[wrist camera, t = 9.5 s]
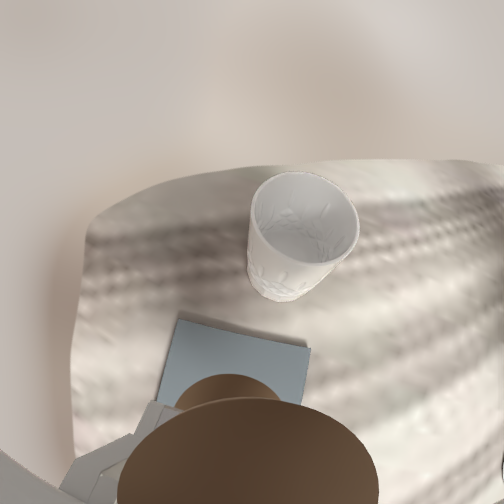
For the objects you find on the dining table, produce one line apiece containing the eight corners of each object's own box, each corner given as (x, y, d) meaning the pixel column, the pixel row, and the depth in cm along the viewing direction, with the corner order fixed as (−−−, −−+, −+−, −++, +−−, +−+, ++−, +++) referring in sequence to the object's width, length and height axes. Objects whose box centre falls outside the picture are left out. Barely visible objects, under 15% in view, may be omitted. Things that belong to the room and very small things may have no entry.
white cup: (334, 272, 29) (378, 221, 20) (281, 325, 26) (313, 290, 17) (279, 221, 31) (301, 156, 22) (224, 266, 28) (226, 206, 19)
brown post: (292, 385, 15) (436, 368, 4) (271, 480, 12) (363, 604, 2) (187, 363, 15) (112, 307, 4) (165, 459, 12) (71, 569, 2)
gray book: (308, 349, 25) (310, 348, 25) (278, 490, 19) (279, 492, 18) (179, 320, 26) (178, 318, 25) (144, 461, 19) (142, 463, 18)
